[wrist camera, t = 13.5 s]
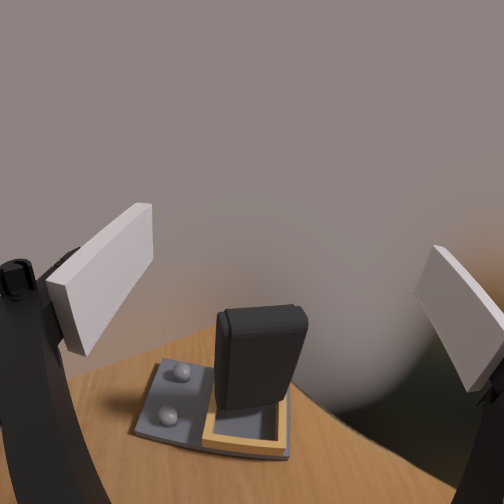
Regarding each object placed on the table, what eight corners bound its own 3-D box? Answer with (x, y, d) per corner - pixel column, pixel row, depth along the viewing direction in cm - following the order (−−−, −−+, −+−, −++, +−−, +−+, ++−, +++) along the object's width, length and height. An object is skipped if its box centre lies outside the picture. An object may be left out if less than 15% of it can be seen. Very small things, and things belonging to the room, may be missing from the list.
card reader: (277, 382, 39) (299, 298, 32) (286, 404, 36) (314, 321, 29) (212, 390, 37) (216, 303, 30) (217, 415, 33) (223, 330, 27)
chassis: (287, 383, 44) (292, 367, 42) (287, 460, 32) (294, 448, 30) (163, 364, 44) (161, 347, 43) (136, 435, 32) (130, 421, 30)
